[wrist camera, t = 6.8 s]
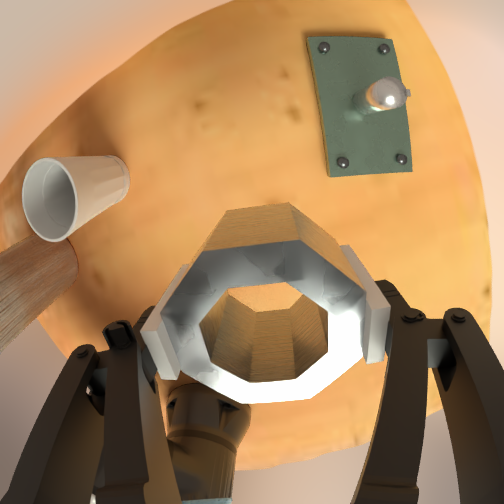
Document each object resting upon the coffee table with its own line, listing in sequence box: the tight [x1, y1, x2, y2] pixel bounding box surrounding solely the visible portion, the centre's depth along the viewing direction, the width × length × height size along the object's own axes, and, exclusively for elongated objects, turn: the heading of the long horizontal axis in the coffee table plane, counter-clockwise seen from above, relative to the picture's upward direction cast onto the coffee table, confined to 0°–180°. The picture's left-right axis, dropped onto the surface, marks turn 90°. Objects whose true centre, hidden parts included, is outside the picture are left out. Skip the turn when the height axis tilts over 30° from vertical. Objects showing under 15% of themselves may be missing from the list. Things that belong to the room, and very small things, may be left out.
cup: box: [22, 155, 130, 242], centre depth 26 cm, size 8×8×12 cm
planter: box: [0, 233, 78, 354], centre depth 26 cm, size 10×10×23 cm
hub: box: [160, 202, 367, 403], centre depth 14 cm, size 8×8×6 cm
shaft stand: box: [306, 36, 412, 177], centre depth 23 cm, size 10×16×9 cm, turn 9°
